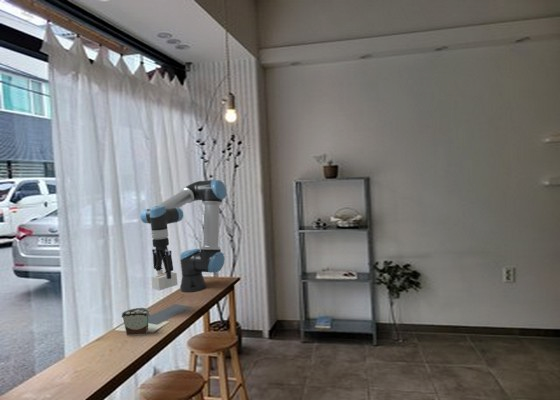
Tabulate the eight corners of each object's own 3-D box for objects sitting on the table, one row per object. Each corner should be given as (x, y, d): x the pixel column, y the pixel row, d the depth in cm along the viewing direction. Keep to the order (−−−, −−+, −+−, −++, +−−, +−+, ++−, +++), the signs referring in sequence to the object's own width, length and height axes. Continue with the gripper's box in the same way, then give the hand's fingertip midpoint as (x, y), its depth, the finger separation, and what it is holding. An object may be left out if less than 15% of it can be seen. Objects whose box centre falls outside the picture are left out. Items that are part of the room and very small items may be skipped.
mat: (174, 304, 207) (174, 304, 207) (193, 307, 200) (193, 306, 200) (138, 321, 186) (137, 320, 186) (157, 325, 180) (157, 324, 179)
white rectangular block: (159, 290, 187) (158, 277, 186) (152, 288, 191) (151, 276, 191) (177, 284, 194) (176, 272, 194) (170, 283, 199) (169, 271, 198)
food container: (156, 328, 176) (153, 306, 175) (150, 334, 170) (148, 311, 169) (130, 329, 177) (127, 308, 177) (123, 335, 171) (121, 313, 170)
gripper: (143, 238, 195) (147, 283, 196) (164, 240, 182) (169, 289, 183) (156, 235, 200) (160, 279, 202) (178, 237, 187) (182, 284, 189)
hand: (164, 284), depth 193 cm, fingers closed on white rectangular block, 6 cm apart
